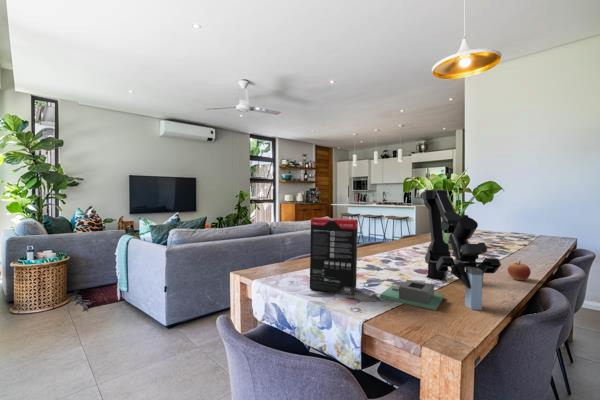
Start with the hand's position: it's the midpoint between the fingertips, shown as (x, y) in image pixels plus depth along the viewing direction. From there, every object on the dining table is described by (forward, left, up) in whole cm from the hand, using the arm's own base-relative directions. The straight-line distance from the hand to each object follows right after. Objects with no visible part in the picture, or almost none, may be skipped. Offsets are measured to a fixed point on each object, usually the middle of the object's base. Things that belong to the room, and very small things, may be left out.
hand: (475, 288), depth 92 cm
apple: (+3, +49, -7) cm, 50 cm away
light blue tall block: (-1, +1, -7) cm, 7 cm away
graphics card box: (-42, -20, -7) cm, 47 cm away
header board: (-18, -6, -7) cm, 20 cm away
